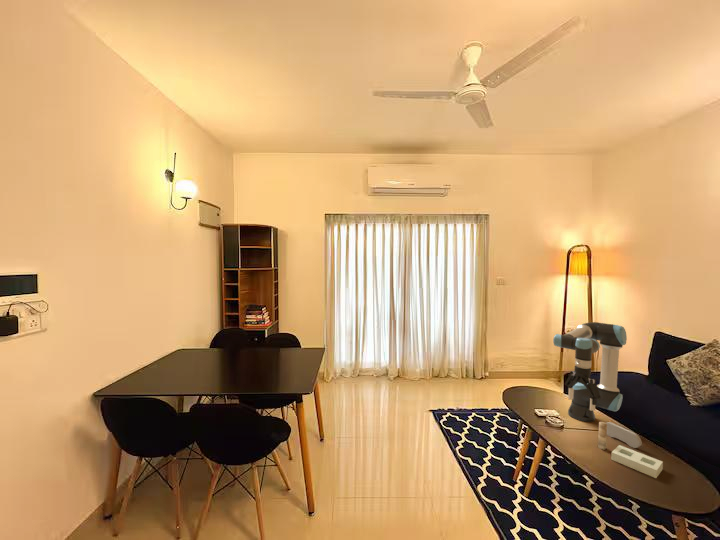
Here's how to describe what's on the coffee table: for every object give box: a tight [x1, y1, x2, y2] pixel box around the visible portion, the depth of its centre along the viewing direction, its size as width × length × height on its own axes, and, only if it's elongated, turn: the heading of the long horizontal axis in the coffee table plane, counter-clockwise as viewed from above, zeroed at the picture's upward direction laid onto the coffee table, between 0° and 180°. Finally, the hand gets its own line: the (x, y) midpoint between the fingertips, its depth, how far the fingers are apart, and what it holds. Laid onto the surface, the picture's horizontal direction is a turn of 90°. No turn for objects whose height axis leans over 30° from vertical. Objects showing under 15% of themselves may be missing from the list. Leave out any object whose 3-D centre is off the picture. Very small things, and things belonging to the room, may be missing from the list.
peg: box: [597, 421, 608, 451], centre depth 184 cm, size 4×4×14 cm
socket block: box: [610, 444, 664, 479], centre depth 169 cm, size 12×18×4 cm, turn 36°
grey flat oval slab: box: [605, 421, 642, 449], centre depth 191 cm, size 20×2×8 cm, turn 20°
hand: (581, 404), depth 181 cm, fingers open, 13 cm apart
